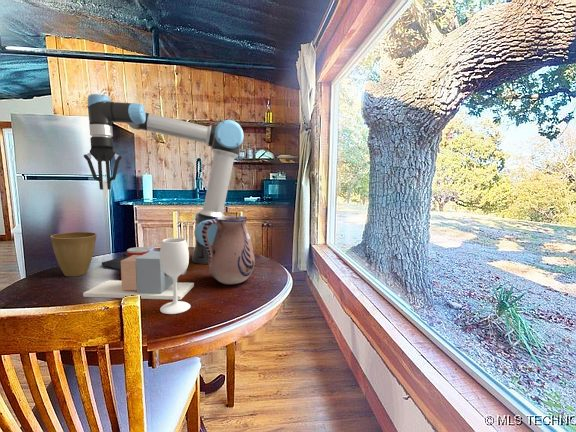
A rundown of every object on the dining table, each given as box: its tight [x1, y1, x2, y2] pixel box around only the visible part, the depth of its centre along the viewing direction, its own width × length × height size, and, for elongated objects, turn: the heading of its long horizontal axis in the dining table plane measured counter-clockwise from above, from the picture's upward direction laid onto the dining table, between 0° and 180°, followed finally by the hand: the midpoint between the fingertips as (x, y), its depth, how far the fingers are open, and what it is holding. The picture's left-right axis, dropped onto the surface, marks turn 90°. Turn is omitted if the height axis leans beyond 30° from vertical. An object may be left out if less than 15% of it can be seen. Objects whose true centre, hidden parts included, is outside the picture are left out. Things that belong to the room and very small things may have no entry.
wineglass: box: [159, 237, 191, 315], centre depth 89 cm, size 9×9×21 cm
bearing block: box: [82, 250, 195, 301], centre depth 103 cm, size 32×13×13 cm, turn 89°
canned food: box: [126, 246, 150, 258], centre depth 119 cm, size 8×8×11 cm
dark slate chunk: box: [101, 252, 127, 271], centre depth 138 cm, size 15×22×5 cm
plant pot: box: [50, 231, 98, 277], centre depth 120 cm, size 15×15×16 cm
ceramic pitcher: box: [202, 215, 256, 285], centre depth 114 cm, size 18×21×25 cm
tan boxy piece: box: [120, 255, 187, 291], centre depth 103 cm, size 20×8×10 cm, turn 89°
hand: (106, 197), depth 119 cm, fingers closed
